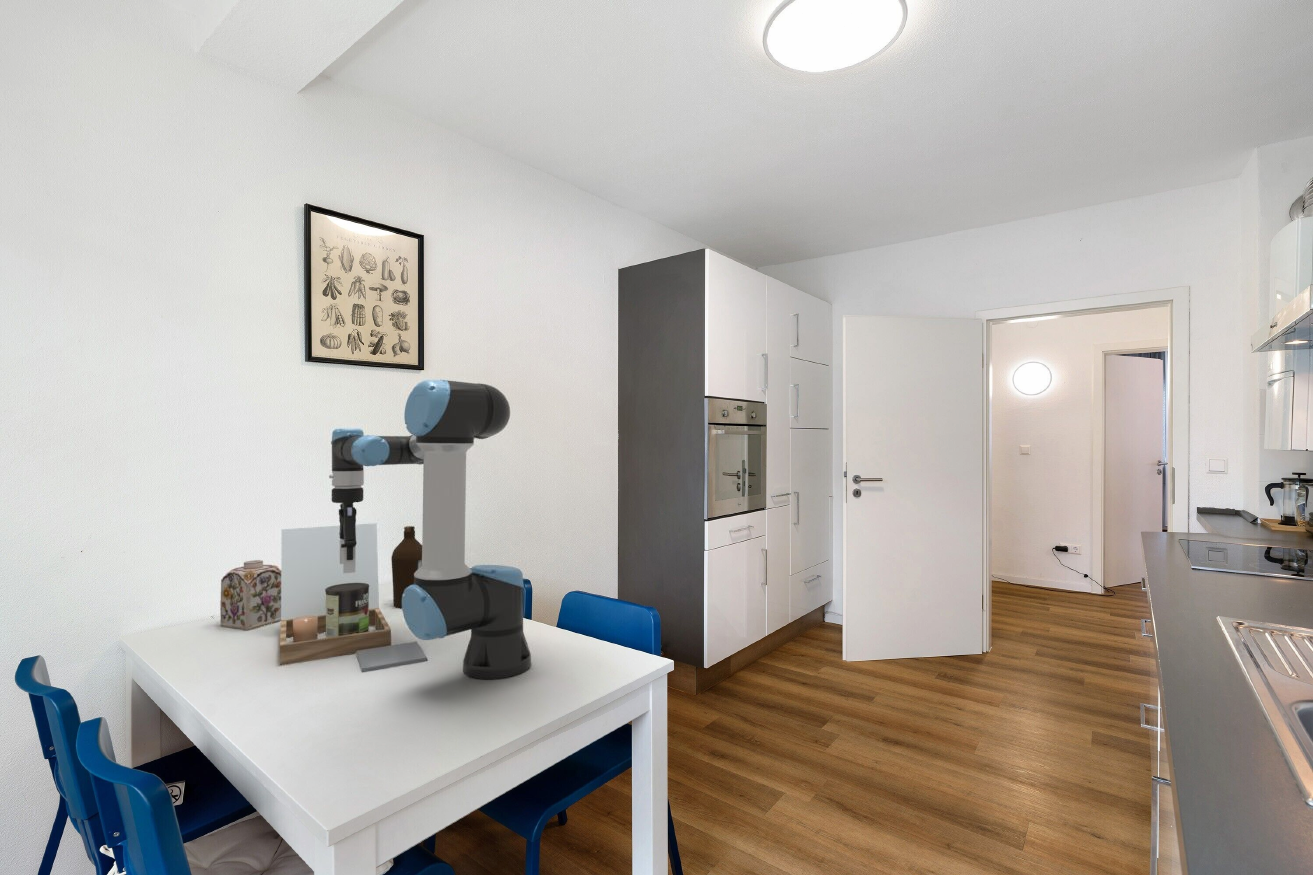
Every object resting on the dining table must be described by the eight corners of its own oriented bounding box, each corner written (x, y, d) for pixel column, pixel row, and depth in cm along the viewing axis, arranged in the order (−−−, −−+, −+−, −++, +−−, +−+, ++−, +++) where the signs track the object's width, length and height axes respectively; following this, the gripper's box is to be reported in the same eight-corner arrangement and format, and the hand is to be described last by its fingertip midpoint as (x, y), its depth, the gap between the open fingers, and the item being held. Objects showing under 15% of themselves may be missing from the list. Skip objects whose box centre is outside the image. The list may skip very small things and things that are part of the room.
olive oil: (386, 609, 191) (386, 529, 192) (398, 600, 202) (398, 524, 202) (420, 608, 192) (420, 528, 192) (431, 600, 203) (431, 524, 203)
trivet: (427, 660, 145) (427, 657, 145) (361, 672, 138) (361, 668, 138) (416, 644, 157) (416, 641, 157) (356, 654, 150) (356, 650, 150)
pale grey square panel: (376, 523, 182) (375, 524, 183) (281, 529, 169) (281, 530, 171) (379, 607, 176) (378, 608, 177) (281, 620, 164) (281, 620, 165)
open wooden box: (391, 647, 155) (391, 629, 155) (279, 665, 143) (279, 645, 143) (379, 623, 176) (379, 607, 176) (281, 637, 164) (281, 620, 164)
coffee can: (376, 634, 166) (376, 582, 166) (356, 647, 156) (356, 591, 156) (338, 634, 166) (338, 582, 166) (316, 646, 156) (316, 591, 156)
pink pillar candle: (317, 642, 159) (318, 619, 159) (292, 646, 157) (292, 622, 157) (317, 636, 164) (317, 614, 164) (292, 640, 161) (292, 617, 161)
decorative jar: (246, 631, 169) (247, 565, 170) (218, 626, 174) (218, 563, 174) (286, 619, 181) (287, 558, 181) (259, 615, 185) (259, 556, 185)
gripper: (329, 484, 170) (328, 561, 170) (334, 490, 149) (334, 578, 149) (358, 483, 174) (358, 558, 174) (368, 489, 153) (368, 575, 152)
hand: (347, 567), depth 161 cm, fingers open, 13 cm apart
